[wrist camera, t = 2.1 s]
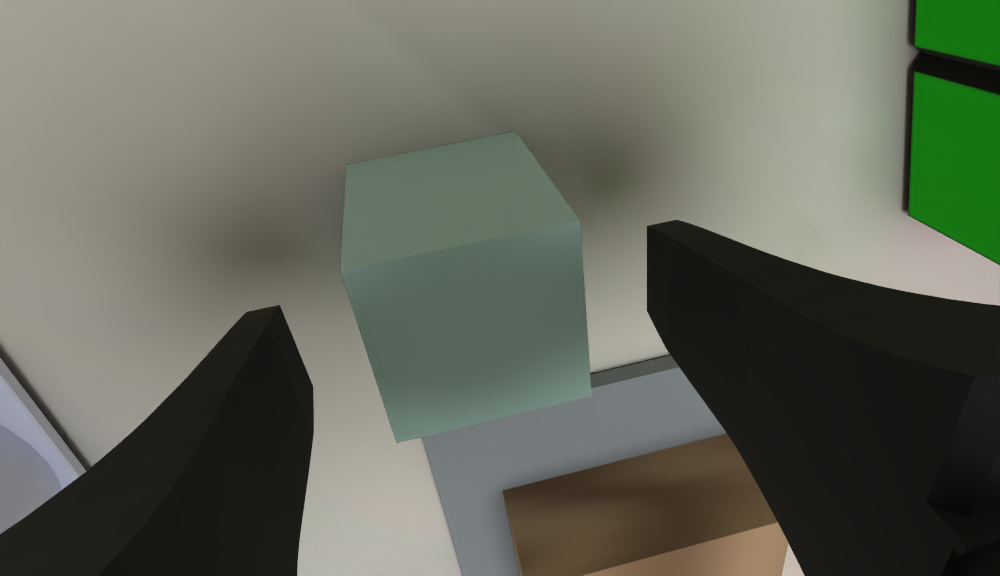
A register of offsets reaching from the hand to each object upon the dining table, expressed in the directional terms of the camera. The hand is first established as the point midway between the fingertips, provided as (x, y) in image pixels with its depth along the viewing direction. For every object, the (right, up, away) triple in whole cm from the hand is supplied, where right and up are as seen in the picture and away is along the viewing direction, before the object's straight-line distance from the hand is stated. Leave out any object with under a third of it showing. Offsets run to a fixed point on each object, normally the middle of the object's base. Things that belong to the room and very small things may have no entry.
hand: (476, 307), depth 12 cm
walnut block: (+5, -7, +10) cm, 13 cm away
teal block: (-1, +2, +3) cm, 4 cm away
